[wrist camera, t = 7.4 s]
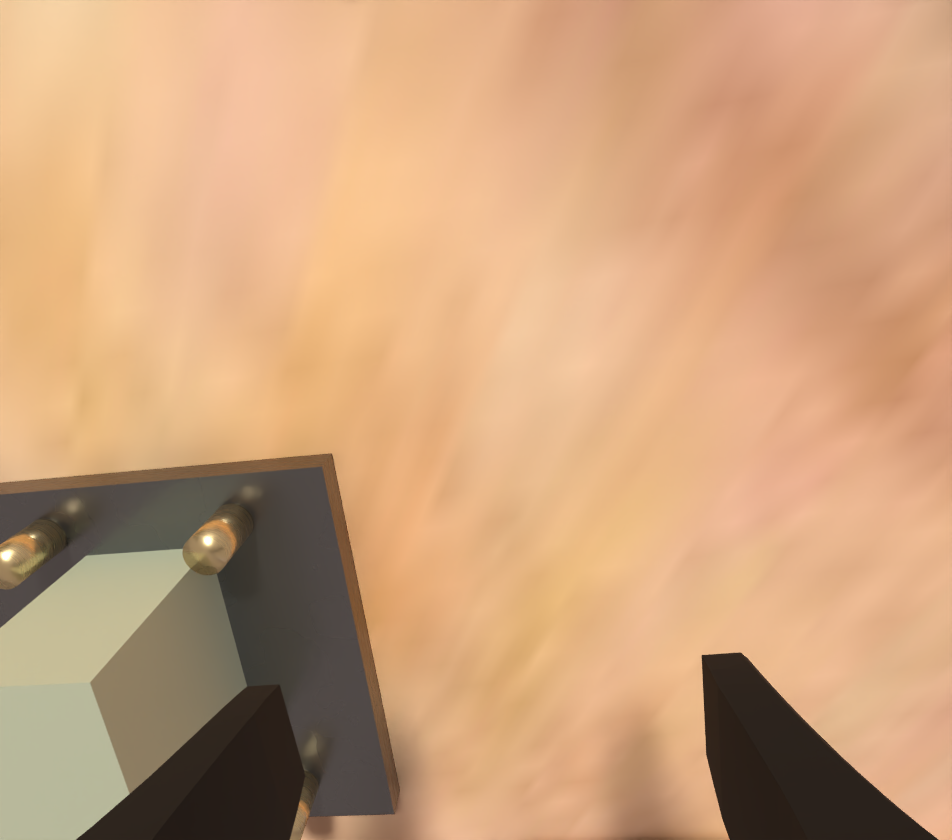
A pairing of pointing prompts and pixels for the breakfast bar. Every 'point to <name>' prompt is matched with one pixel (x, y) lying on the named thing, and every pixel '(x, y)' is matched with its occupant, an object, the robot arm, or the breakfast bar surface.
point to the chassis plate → (237, 593)
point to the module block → (106, 686)
